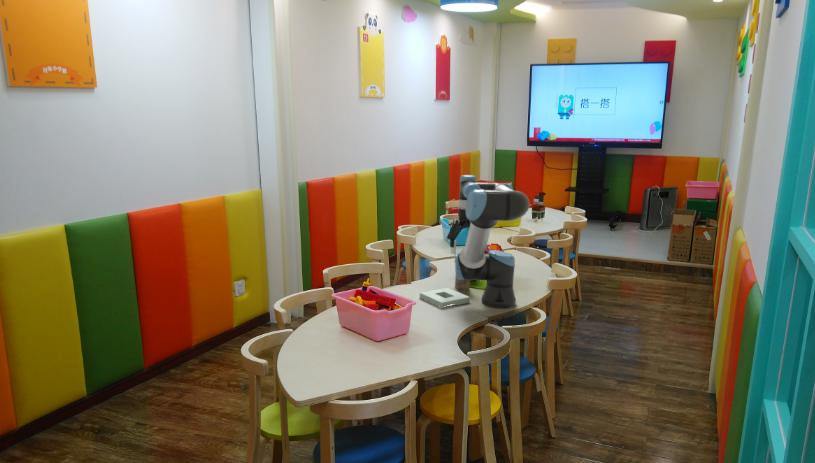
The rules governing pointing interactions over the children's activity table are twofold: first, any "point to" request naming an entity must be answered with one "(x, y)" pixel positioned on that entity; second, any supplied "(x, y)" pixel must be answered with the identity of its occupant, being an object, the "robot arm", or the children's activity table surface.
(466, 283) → the walnut peg
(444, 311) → the children's activity table surface
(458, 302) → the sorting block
